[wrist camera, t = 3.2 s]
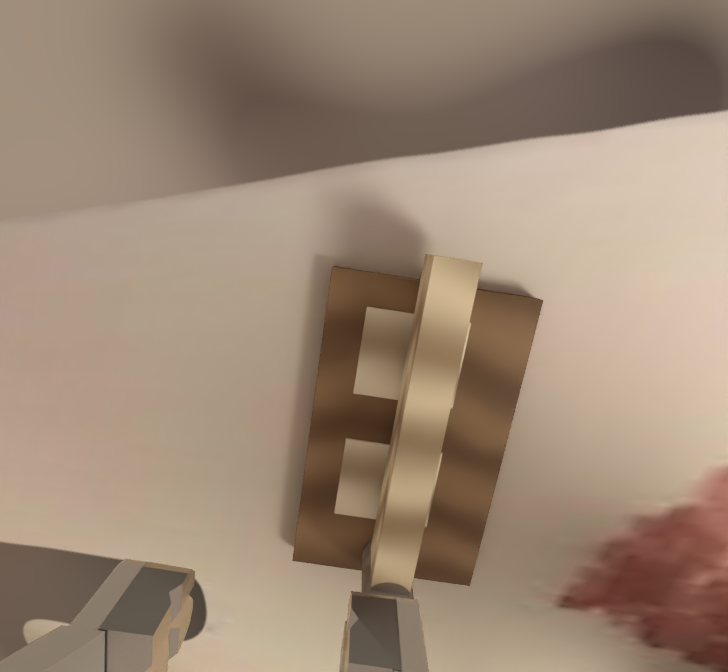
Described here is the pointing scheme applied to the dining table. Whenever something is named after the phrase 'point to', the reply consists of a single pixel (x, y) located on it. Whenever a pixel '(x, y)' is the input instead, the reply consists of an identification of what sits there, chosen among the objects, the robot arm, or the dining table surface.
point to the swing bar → (420, 422)
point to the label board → (377, 414)
